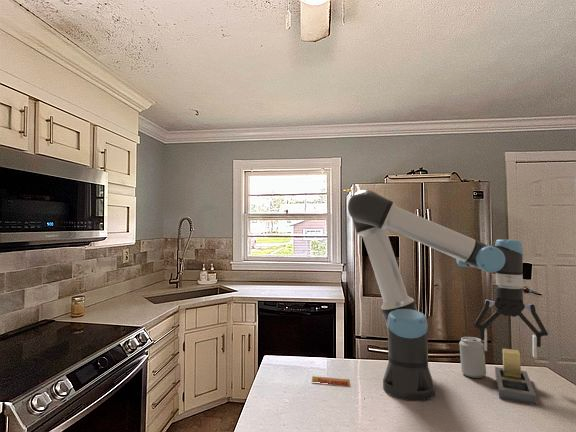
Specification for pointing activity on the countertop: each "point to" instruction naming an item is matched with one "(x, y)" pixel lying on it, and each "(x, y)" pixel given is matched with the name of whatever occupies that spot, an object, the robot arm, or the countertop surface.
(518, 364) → the brass block
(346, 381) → the chocolate bar
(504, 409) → the countertop surface
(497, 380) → the rack
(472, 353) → the can
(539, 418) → the countertop surface
